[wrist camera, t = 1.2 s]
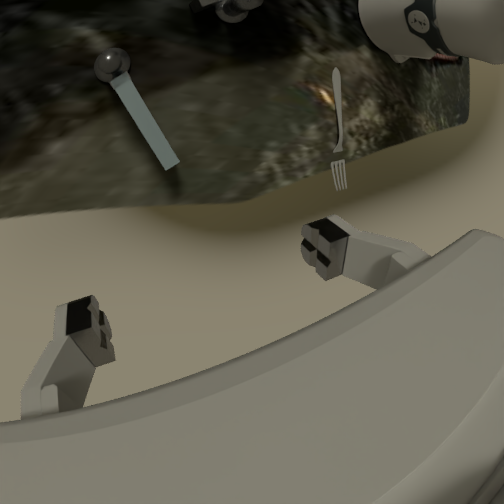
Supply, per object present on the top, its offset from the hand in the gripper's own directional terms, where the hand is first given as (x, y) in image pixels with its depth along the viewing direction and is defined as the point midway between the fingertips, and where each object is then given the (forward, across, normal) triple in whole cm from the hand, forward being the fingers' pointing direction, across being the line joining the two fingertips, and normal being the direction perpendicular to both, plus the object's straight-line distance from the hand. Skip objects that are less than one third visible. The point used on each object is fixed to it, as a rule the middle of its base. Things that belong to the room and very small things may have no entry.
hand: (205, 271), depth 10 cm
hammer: (+28, -12, -16) cm, 34 cm away
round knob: (+28, +2, -10) cm, 30 cm away
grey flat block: (+28, -1, -3) cm, 28 cm away
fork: (+28, -30, +3) cm, 42 cm away
